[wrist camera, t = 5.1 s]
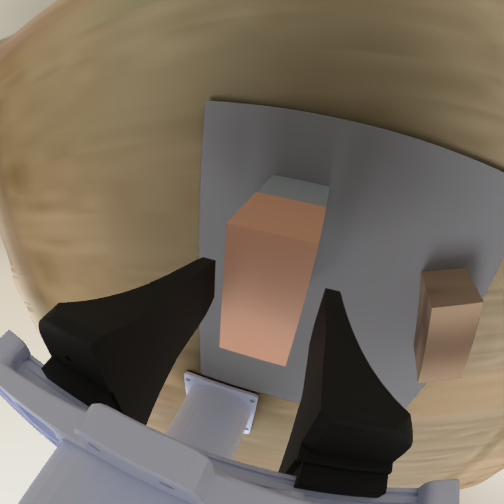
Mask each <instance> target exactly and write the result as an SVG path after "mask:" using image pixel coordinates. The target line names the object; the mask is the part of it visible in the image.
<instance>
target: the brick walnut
mask: <svg viewBox="0 0 504 504" xmlns="http://www.w3.org/2000/svg"><path fill="white" fill-rule="evenodd" d="M482 307H483V300H482V298H481V296H480V294H479V292H478V290H477V288H476V286H475V284H474V282H473V280H472V278H471V276H470V274H469V272H468V271H467V269H466V268H457V269H446V270H435V271H424V272H421V278H420V292H419V304H418V314H417V323H416V331H415V338H414V345H413V346H414V353H415V361H416V370H417V380H418V383H425V382H434V381H442V380H450V379H457V378H461V376H462V374H463V371H464V368H465V365H466V362H467V359H468V356H469V353H470V350H471V347H472V344H473V340H474V337H475V334H476V330H477V326H478V323H479V319H480V315H481V311H482Z"/></svg>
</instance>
